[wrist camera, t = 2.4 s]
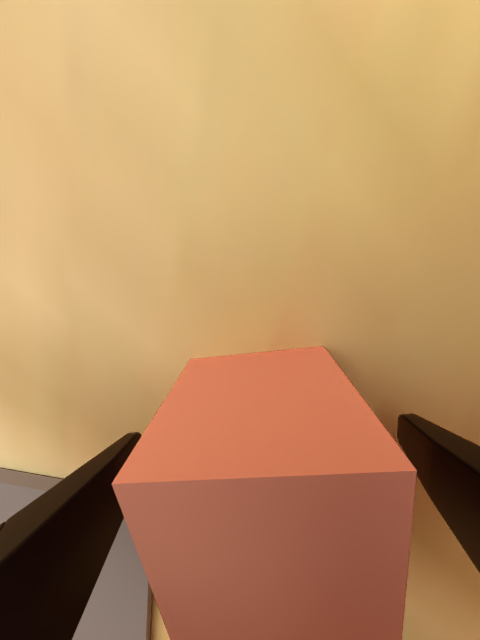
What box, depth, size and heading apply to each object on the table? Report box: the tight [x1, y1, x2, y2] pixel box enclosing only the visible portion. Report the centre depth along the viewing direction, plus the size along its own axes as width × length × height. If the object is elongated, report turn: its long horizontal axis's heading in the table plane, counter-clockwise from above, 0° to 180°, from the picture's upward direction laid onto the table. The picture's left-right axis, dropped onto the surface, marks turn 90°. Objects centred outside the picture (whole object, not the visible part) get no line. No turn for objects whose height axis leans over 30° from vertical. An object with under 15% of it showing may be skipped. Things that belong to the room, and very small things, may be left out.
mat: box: [0, 468, 152, 640], centre depth 13 cm, size 20×14×1 cm
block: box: [112, 346, 417, 640], centre depth 7 cm, size 5×5×5 cm
